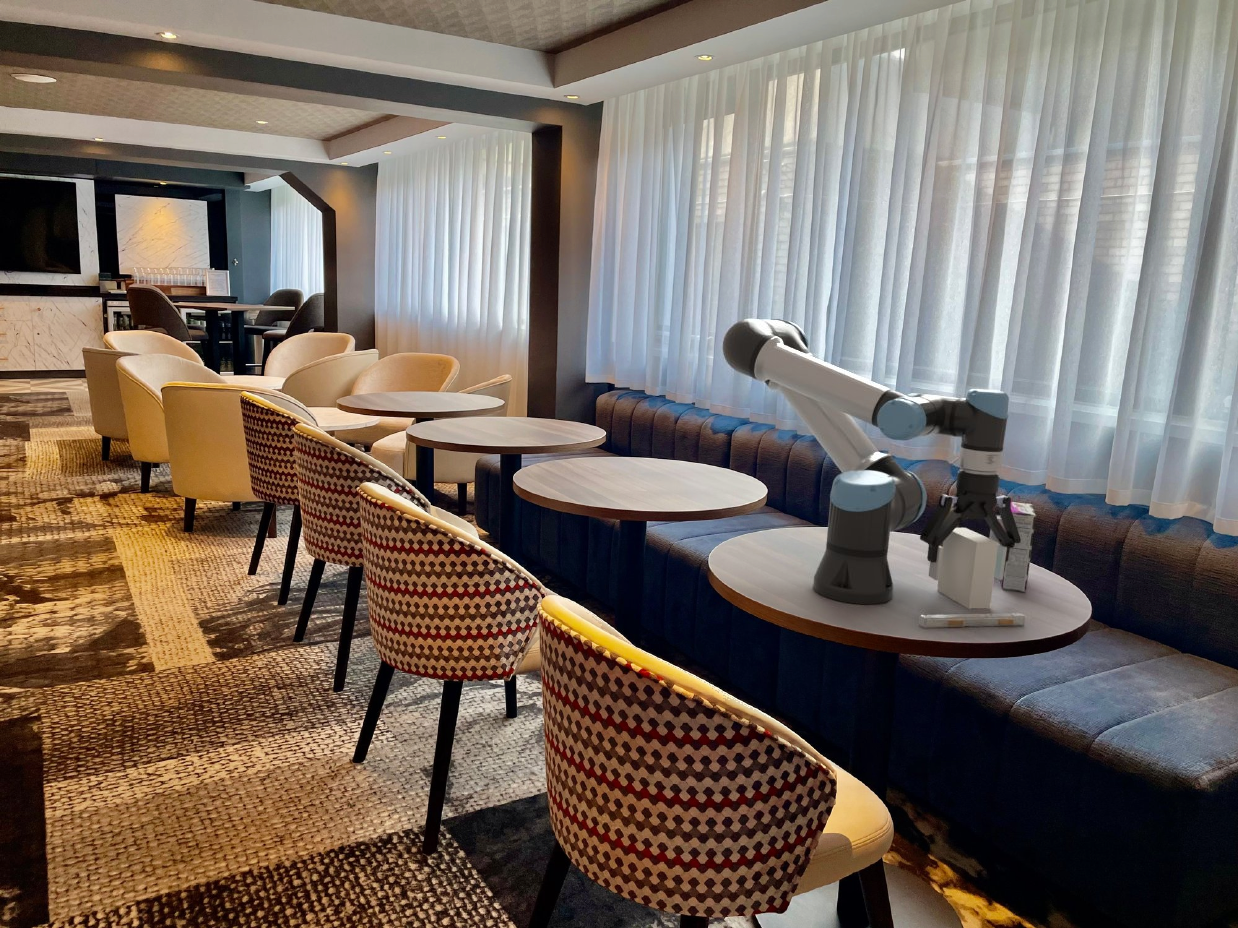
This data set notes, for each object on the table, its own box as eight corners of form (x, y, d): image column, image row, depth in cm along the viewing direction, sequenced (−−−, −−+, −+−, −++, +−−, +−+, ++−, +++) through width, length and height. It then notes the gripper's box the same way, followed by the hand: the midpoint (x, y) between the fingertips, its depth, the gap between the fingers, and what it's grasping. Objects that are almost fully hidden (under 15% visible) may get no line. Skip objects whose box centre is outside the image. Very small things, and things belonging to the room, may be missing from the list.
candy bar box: (997, 574, 195) (1007, 500, 192) (1022, 578, 193) (1033, 503, 190) (999, 589, 185) (1010, 511, 182) (1026, 593, 183) (1037, 514, 180)
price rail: (924, 628, 159) (925, 618, 158) (919, 624, 161) (920, 614, 160) (1025, 626, 163) (1026, 616, 162) (1018, 622, 165) (1020, 613, 164)
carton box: (968, 608, 171) (977, 542, 169) (937, 590, 182) (944, 527, 179) (990, 608, 172) (999, 542, 170) (958, 590, 183) (965, 527, 180)
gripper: (930, 473, 166) (917, 584, 170) (1049, 475, 171) (1034, 582, 175) (909, 466, 173) (897, 572, 177) (1024, 468, 178) (1010, 571, 182)
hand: (965, 578), depth 176 cm, fingers open, 13 cm apart
